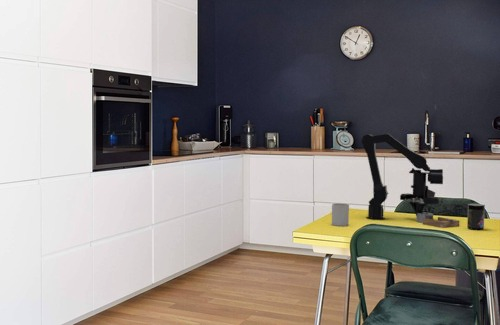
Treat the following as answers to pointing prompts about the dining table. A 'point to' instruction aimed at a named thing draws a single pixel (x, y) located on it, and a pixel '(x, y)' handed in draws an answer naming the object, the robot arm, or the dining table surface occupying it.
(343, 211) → the cup
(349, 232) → the dining table surface
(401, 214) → the dining table surface
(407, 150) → the robot arm
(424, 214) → the socket
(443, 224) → the dock
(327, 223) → the dining table surface
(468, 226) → the supplement container
